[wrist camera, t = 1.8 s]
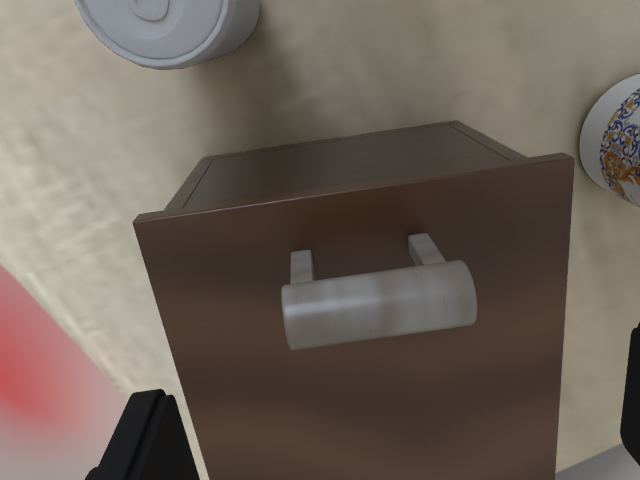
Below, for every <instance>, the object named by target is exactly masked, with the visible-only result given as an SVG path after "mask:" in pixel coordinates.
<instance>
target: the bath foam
mask: <svg viewBox="0 0 640 480" xmlns="http://www.w3.org/2000/svg"><path fill="white" fill-rule="evenodd" d="M579 151H580V158H581V162H582V165H583V167H584V169H585V171H586V173H587V174H588V176H589V177H590V178H591V179H592V180H593V181H594V182H595V183H596V184H597V185H599V186H600V187H602V188H604V189H605V190H607V191H609V192H611V193H613V194H615V195H617V196H619V197H621V198H623V199H624V200H626V201H629V202H631V203H633V204H635V205H637V206H639V207H640V74H637V75H634V76H631V77H629V78H626V79H624V80H622V81H621V82H619V83H617V84H616V85H614V86H613V87H611V88H610V89H609V90H608V91H607V92H605V93H604V94H603V95H602V96H601V97H600V98H599V100H598V101H597V102H596V103H595V104H594V106H593V107H592V109H591V110H590V112H589V114H588V116H587V118H586V120H585V122H584V125H583V127H582V131H581V135H580V143H579Z"/></svg>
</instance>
